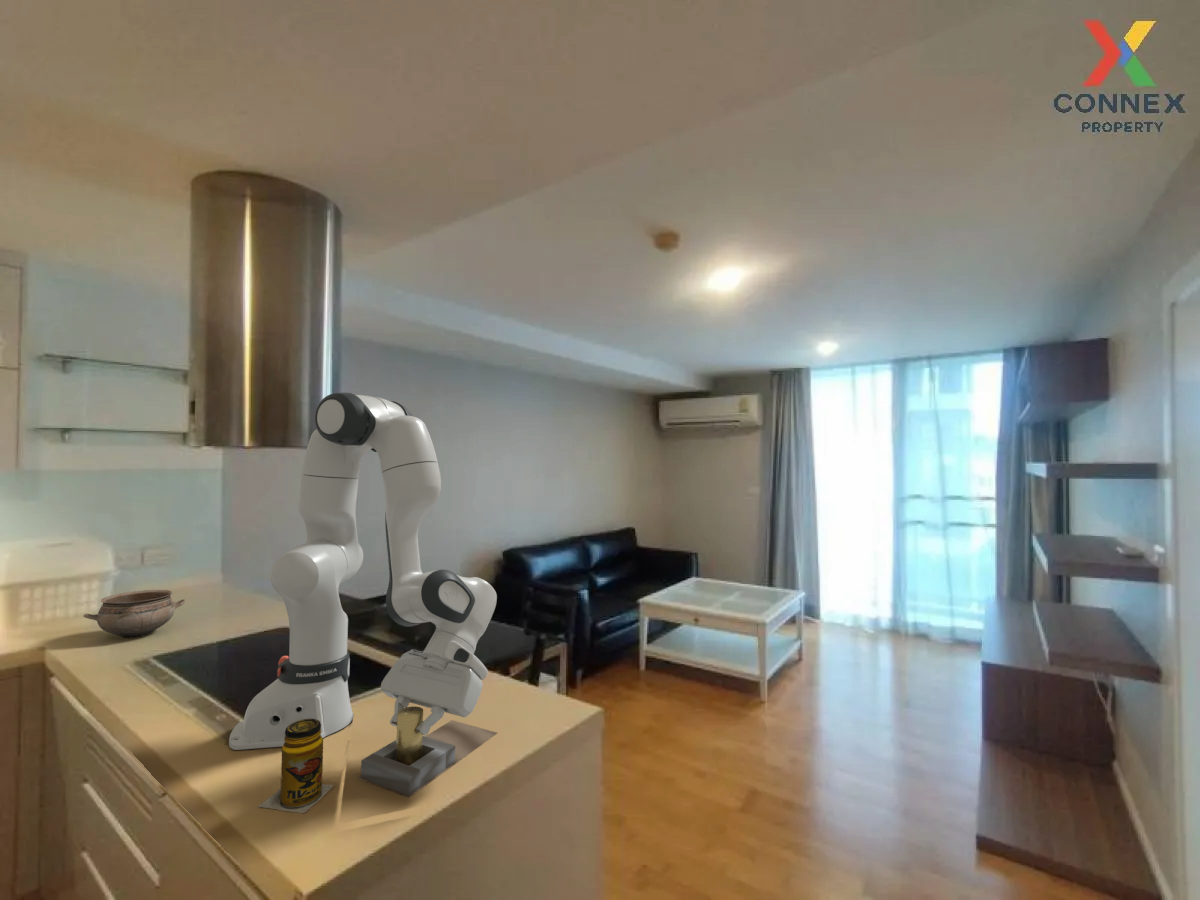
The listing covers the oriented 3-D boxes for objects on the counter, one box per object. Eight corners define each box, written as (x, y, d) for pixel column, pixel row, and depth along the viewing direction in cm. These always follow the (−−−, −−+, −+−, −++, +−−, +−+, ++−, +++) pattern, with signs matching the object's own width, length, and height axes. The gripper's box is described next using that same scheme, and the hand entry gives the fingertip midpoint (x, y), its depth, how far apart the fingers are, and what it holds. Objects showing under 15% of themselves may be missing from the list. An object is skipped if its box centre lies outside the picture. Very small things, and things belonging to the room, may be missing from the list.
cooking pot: (177, 620, 187) (178, 585, 187) (192, 631, 175) (193, 594, 175) (77, 637, 168) (79, 598, 168) (87, 651, 155) (88, 609, 156)
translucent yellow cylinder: (395, 777, 93) (397, 719, 93) (395, 764, 97) (396, 708, 97) (422, 772, 94) (424, 715, 95) (421, 760, 99) (422, 705, 99)
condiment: (304, 813, 85) (307, 737, 85) (257, 807, 86) (259, 732, 87) (334, 786, 92) (336, 716, 92) (290, 781, 93) (292, 711, 94)
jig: (408, 803, 88) (409, 779, 88) (357, 784, 93) (357, 760, 93) (497, 737, 109) (498, 717, 109) (451, 724, 114) (452, 705, 115)
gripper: (398, 640, 107) (356, 709, 98) (481, 657, 98) (442, 735, 89) (414, 655, 111) (375, 723, 102) (495, 673, 102) (459, 750, 93)
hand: (407, 729), depth 95 cm, fingers open, 5 cm apart
